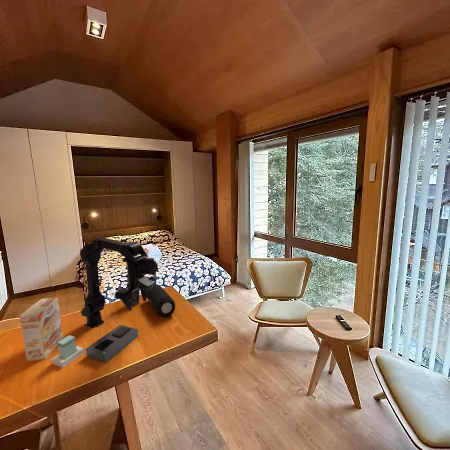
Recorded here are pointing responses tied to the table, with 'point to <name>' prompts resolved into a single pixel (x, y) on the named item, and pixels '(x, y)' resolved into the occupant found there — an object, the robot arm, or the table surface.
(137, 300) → the beverage cup
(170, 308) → the portable speaker
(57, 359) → the light grey tray
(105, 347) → the panel
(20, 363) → the table surface
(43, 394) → the table surface
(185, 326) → the table surface
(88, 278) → the robot arm
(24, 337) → the coffeecake box
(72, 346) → the plug
